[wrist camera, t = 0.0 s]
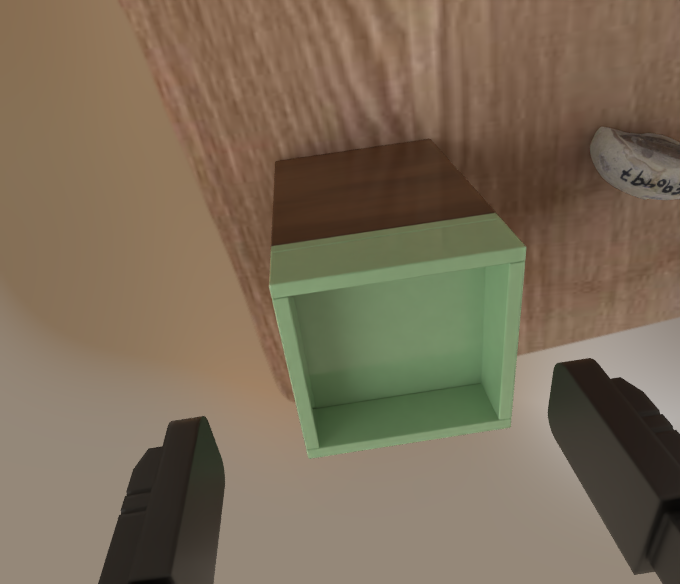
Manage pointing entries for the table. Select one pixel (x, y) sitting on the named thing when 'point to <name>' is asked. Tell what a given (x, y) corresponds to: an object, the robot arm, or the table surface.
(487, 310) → the green angular shape
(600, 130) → the fossil
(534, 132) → the table surface
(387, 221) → the block
